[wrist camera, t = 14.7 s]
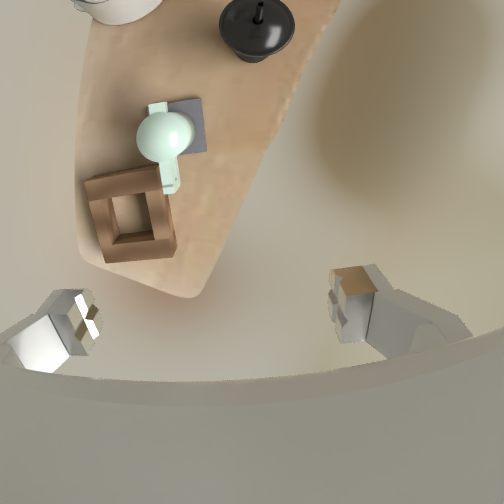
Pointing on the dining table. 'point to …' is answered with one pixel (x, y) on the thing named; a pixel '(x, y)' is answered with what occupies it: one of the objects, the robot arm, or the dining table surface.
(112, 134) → the dining table surface
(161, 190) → the stand
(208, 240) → the dining table surface
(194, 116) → the mat
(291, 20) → the drinking cup
